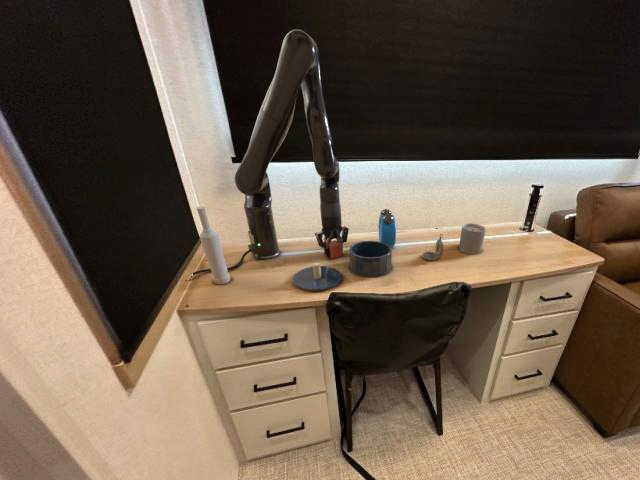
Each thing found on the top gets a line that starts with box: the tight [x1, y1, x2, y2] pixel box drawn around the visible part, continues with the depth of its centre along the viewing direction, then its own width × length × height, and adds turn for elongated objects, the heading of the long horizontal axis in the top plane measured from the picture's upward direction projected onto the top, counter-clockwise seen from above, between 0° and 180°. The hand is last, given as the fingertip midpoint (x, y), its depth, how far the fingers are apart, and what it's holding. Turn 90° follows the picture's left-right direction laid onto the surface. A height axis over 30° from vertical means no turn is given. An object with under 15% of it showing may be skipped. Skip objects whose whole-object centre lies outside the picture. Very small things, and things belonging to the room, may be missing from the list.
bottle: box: [196, 206, 231, 285], centre depth 100 cm, size 5×5×25 cm
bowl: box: [348, 240, 393, 278], centre depth 118 cm, size 16×16×8 cm
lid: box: [292, 262, 343, 292], centre depth 109 cm, size 17×17×6 cm
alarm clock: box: [378, 208, 397, 249], centre depth 134 cm, size 13×6×15 cm, turn 9°
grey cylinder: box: [458, 223, 487, 255], centre depth 138 cm, size 13×10×10 cm
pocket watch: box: [422, 233, 444, 261], centre depth 127 cm, size 8×8×10 cm
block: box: [329, 239, 343, 260], centre depth 126 cm, size 5×5×5 cm
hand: (333, 254), depth 127 cm, fingers closed on block, 5 cm apart
